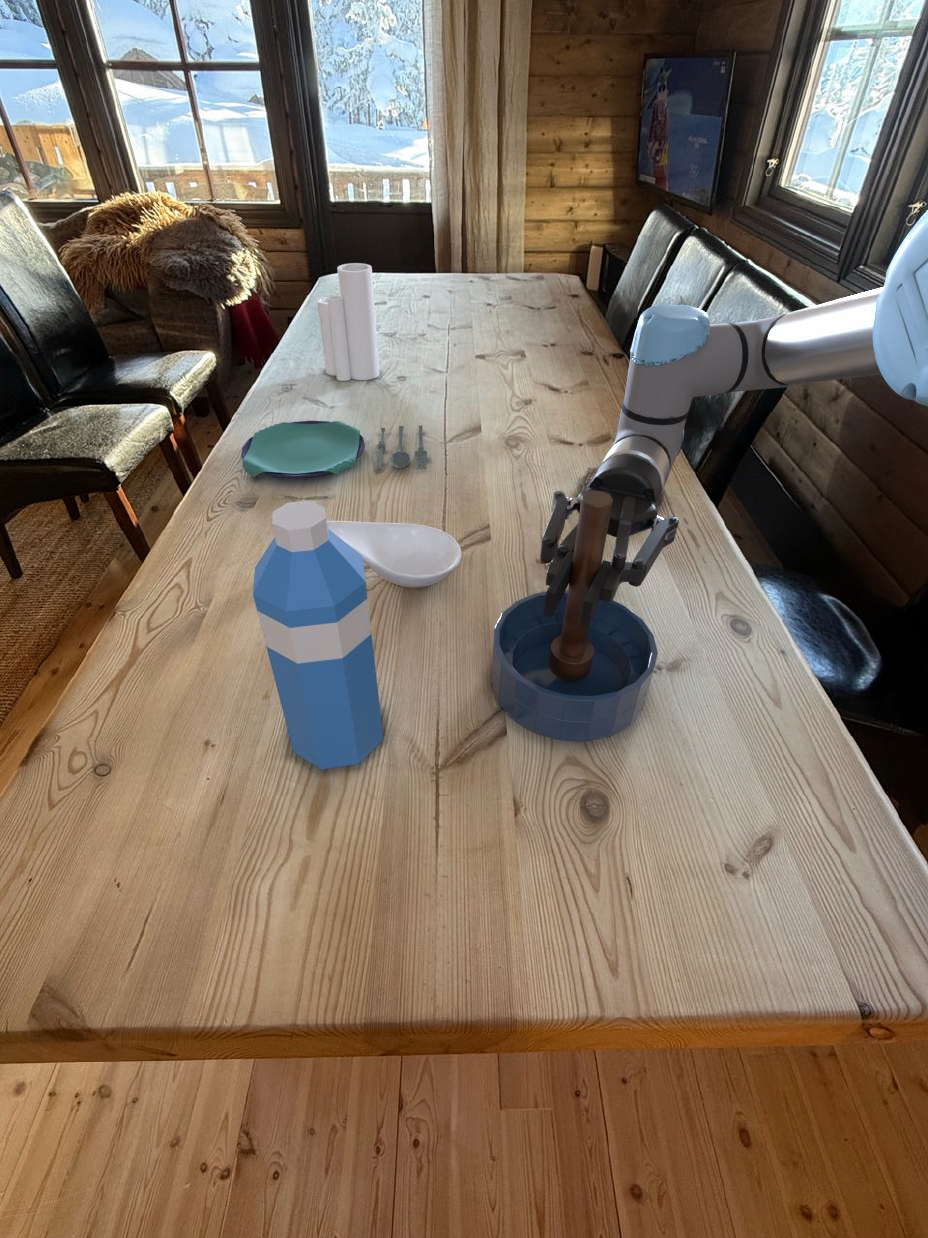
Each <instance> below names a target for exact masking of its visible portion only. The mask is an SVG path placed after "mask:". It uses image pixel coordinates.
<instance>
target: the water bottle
mask: <svg viewBox="0 0 928 1238" xmlns="http://www.w3.org/2000/svg"><path fill="white" fill-rule="evenodd" d="M271 515H272V517H271V524H272V525H271V526H272V529H273V534H274V537H273V539H272V541H271V542H270V543H269V545H268V547H267V548H266V549H265V551H264V553H263V554H262V556H261V557H260V559H259V560H258V561H257V563H256V565H255V566H254V573H253V585H252V586H253V587H252V597H253V601H254V605H255V607H256V608H255V609H256V612H257V616H258V621H259V624H260V627H261V632H262V635H263V640H264V644H265V647H266V651H267V654H268V659H269V663H270V666H271V671H272V674H273V678H274V682H275V685H276V690H277V693H278V698H279V701H280V705H281V709H282V713H283V717H284V721H285V725H286V728H287V733H288V737H289V740H290V743H291V748H292V751H293V753H294V754H295V755H297V756H299V757H300V758H302V759H303V760H305V761H306V762H308V763H310V764H311V765H312V766H314V767H316V768H317V769H318V770H320V771H321V770H328V769H329V770H330V769H334V768H342V767H349V766H355V765H360V764H362V762H363V761H364V760H365V759H366V758H367V757H368V756H369V755H370V754H371V753H372V752H373V750H375V748H377V747H378V746H379V745H380V744H381V742H383V741H384V733H383V723H382V715H381V704H380V697H379V687H378V679H377V670H376V662H375V660H376V659H375V652H374V645H373V643H374V642H373V635H372V626H371V625H372V624H371V617H370V608H369V599H368V588H367V581H366V573H365V565H364V564H365V563H364V562H363V556H362V555H361V554H359V553H358V552H357V551H356V550H354V549H353V548H352V547H351V546H349V545H348V544H347V543H346V542H344V541H343V540H342V539H340V538H339V537H338V536H337V535H335V534H334V533H333V532H332V531H330V530H329V529H328V525H327V521H328V519H327V511H326V507H325V506H323V505H321V504H319V503H316V502H314V501H311V500H303V501H302V500H301V501H290V502H286V503H285V504H283V505H281V506H280V507H278V508H276V509H275V510H273V511H272V514H271Z"/></svg>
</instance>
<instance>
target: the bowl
mask: <svg viewBox="0 0 928 1238" xmlns="http://www.w3.org/2000/svg"><path fill="white" fill-rule="evenodd" d="M546 592H547V591H541V592H537V593H533V594H530V595H528V596H526V597H523V598H521V599H518V600H516V601H515V602H514V603H512V604H511V605H510V606H509V607H507V608H506V609H505V610H504V611H502V612H501V615H500V617H499V619H498V620H497V622H496V624H495V625H494V628H493V642H492V643H493V644H492V662H491V682H490V684H491V688H492V691H493V694H494V696H495V698H496V701H497V703H498V705H500V707H501V708H502V709H503V710H504V711H505V712H506V713H507V715H508V716H509V717H510V718H511V719H512V720H514V721H515V722H516V723H518V724H519V725H521V726H523V727H525V728H526V729H528V730H529V731H531V732H533V733H534V734H538V735H541V736H544V737H548V738H551V739H554V740H558V741H565V742H582V743H586V742H592V741H597V740H602V739H606V738H611V737H613V736H614V735H616V734H617V733H620V732H622V731H623V730H625V729H627V728H628V727H630V726H631V725H632V724H633V723H634V721H635V720H636V719H637V718H638V717H639V715H641V713H642V711H643V710H644V706H645V703H646V699H647V695H648V693H649V689H650V686H651V681H652V678H653V675H654V671H655V667H656V663H657V659H658V654H659V651H658V648H657V647H658V646H657V642H656V639H655V636H654V634H653V633H652V632H653V631H651V630H650V627H648V625H647V623H646V622H645V621H644V620H643V618H642V617H640V616H639V615H638V614H637V613H635V612H634V611H633V610H631V609H630V608H629V607H627V606H626V605H624V604H622V603H620V602H618V601H616V600H614V599H613V600H612V601H611V602H607V601H603V600H600V602H599V604H598V606H597V609H596V611H595V613H594V616H593V618H592V620H591V623H590V628H589V634H588V639H587V640H588V641H590V643H591V644H592V645H593V647H594V656H593V661H592V666H591V671H590V673H589V674H588V676H586V677H585V678H583V679H581V680H577V681H568V680H564V679H561V678H559V677H557V676H556V675H554V674H553V673H552V672H551V670H550V668H549V656H550V649H551V644H552V642H553V640H554V639H555V638H557V637H559V636H561V635H562V628H563V621H564V615H565V608H566V601H567V594H568V589H566V591H565V593H564V594H563V596H562V598H561V600H560V602H559V604H558V606H557V608H556V610H555V612H554V614H553V616H552V617H548V616H545V615H544V609H545V600H546Z"/></svg>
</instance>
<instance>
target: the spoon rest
mask: <svg viewBox="0 0 928 1238" xmlns="http://www.w3.org/2000/svg"><path fill="white" fill-rule="evenodd" d="M327 525H328V529H329V530H330V531H332V532H333V533H334V534H335V535H337V536H338V537H339V538H340V539H342V540H343V541H344V542H346V543H347V544H348V545H349V546H351V547H352V548H353V549H354V550H356V551H357V552H358V553H359V554H361V555H362V556H363V564H365V565H366V566H367V567H368V568H370V569H371V570H372V571H373V572H374V573H375V574H376V575H378V577H380V578H382V579H384V581H387V582H389V583H391V584H394V585H397V586H400V587H404V588H423V587H428V586H432V585H435V584H437V583H439V582H441V581H444V580H445V579H446V578H448V577H449V576H450V575H451V574H453V572H454V571H455V570H456V569H457V568H458V567H459V565H460V563H461V560H462V548H461V546H460V543H458V541H457V539H455V538H454V537H453V536H451V534H449V533H447V532H445V531H444V530H442V529H438V528H435V527H432V526H428V525H423V524H416V523H402V522H367V521H365V522H364V521H348V520H347V521H346V520H327Z"/></svg>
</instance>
